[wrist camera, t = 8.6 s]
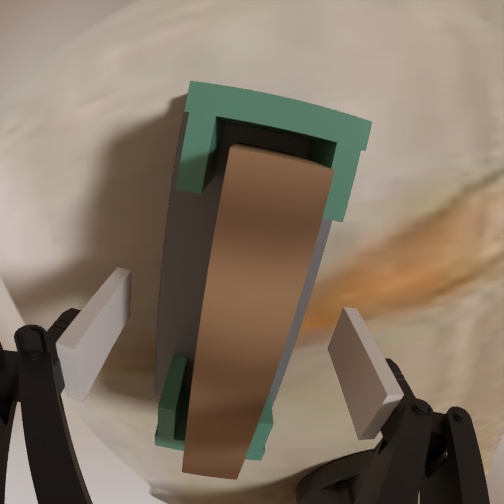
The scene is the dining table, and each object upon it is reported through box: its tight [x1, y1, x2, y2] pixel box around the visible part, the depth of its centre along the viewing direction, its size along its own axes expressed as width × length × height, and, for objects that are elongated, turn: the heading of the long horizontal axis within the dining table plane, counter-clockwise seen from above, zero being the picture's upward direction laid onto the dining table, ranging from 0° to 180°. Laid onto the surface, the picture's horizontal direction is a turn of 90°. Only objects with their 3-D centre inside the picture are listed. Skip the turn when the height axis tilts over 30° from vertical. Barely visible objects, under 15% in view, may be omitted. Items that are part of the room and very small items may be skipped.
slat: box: [182, 142, 334, 480], centre depth 15 cm, size 16×3×8 cm, turn 169°
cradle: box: [155, 81, 372, 460], centre depth 17 cm, size 21×9×6 cm, turn 169°
